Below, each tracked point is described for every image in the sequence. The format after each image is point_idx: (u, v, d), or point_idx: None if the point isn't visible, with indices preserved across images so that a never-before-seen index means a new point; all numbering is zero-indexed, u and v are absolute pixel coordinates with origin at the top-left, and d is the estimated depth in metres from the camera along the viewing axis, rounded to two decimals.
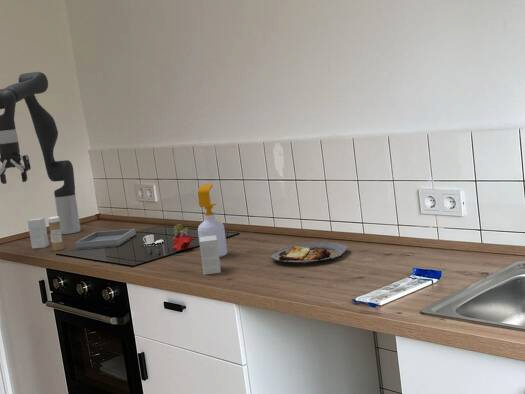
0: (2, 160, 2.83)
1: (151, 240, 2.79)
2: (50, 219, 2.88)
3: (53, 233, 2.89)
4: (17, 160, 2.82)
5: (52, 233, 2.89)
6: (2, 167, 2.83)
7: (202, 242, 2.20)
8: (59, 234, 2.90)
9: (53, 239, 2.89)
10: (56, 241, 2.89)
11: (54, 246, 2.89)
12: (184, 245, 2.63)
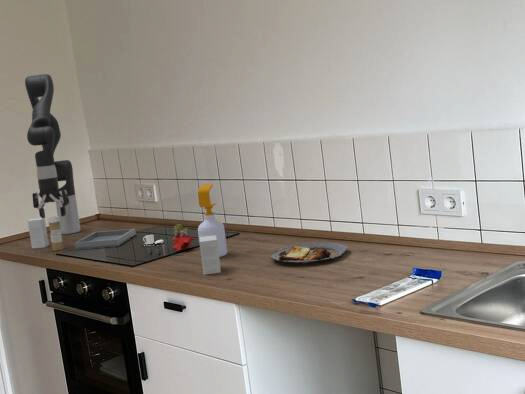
0: (41, 195, 2.88)
1: (151, 240, 2.79)
2: (50, 219, 2.88)
3: (53, 233, 2.89)
4: (56, 195, 2.87)
5: (52, 233, 2.89)
6: (41, 202, 2.88)
7: (202, 242, 2.20)
8: (59, 234, 2.90)
9: (53, 239, 2.89)
10: (56, 241, 2.89)
11: (54, 246, 2.89)
12: (184, 245, 2.63)
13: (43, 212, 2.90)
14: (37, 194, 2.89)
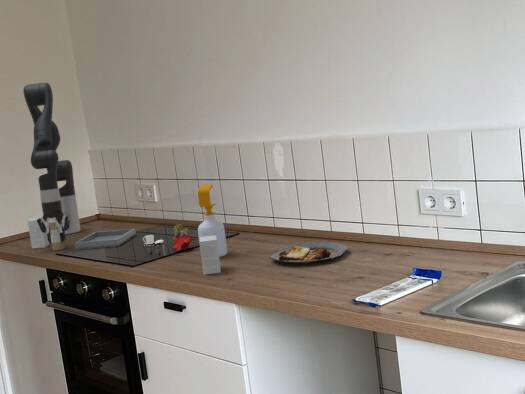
0: (45, 219, 2.89)
1: (151, 240, 2.79)
2: (50, 219, 2.88)
3: (53, 233, 2.89)
4: (59, 220, 2.88)
5: (52, 233, 2.89)
6: (47, 226, 2.89)
7: (202, 242, 2.20)
8: (59, 234, 2.90)
9: (53, 239, 2.89)
10: (56, 241, 2.89)
11: (54, 246, 2.89)
12: (184, 245, 2.63)
13: None
14: (41, 219, 2.90)
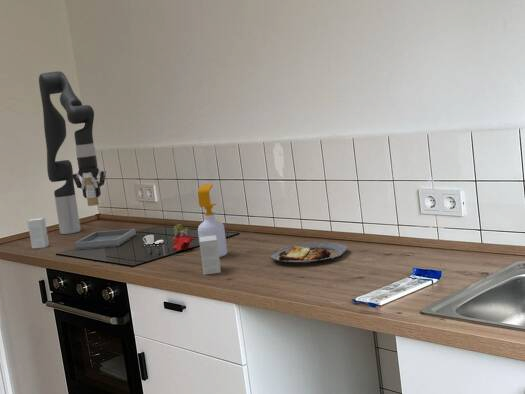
0: (81, 175, 2.90)
1: (151, 240, 2.79)
2: (85, 174, 2.89)
3: (88, 188, 2.89)
4: (95, 175, 2.89)
5: (87, 188, 2.90)
6: (83, 181, 2.90)
7: (202, 242, 2.20)
8: (94, 189, 2.90)
9: (88, 194, 2.90)
10: (91, 196, 2.90)
11: (89, 201, 2.90)
12: (184, 245, 2.63)
13: None
14: (77, 174, 2.91)
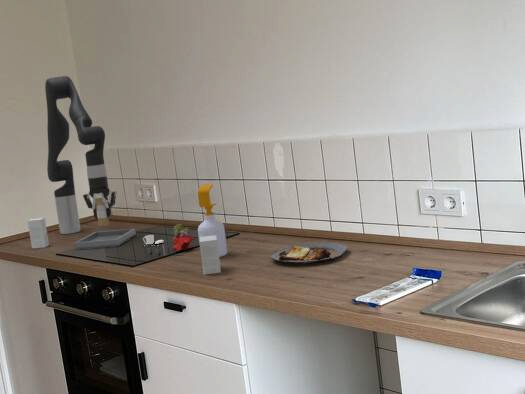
0: (91, 195, 2.92)
1: (151, 240, 2.79)
2: (97, 195, 2.91)
3: (99, 208, 2.91)
4: (106, 195, 2.91)
5: (98, 208, 2.92)
6: (94, 201, 2.92)
7: (202, 242, 2.20)
8: (105, 210, 2.92)
9: (99, 214, 2.92)
10: (102, 216, 2.92)
11: (100, 221, 2.92)
12: (184, 245, 2.63)
13: None
14: (87, 194, 2.93)
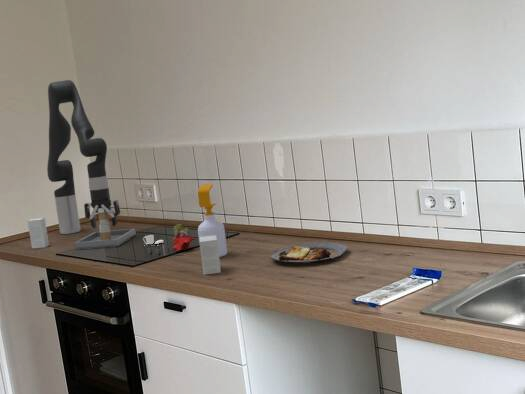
0: (93, 205, 2.93)
1: (151, 240, 2.79)
2: (99, 209, 2.92)
3: (102, 223, 2.93)
4: (108, 205, 2.92)
5: (101, 223, 2.93)
6: (93, 212, 2.93)
7: (202, 242, 2.20)
8: (107, 224, 2.94)
9: (102, 229, 2.93)
10: (105, 230, 2.93)
11: (102, 236, 2.93)
12: (184, 245, 2.63)
13: (94, 222, 2.95)
14: (89, 204, 2.94)
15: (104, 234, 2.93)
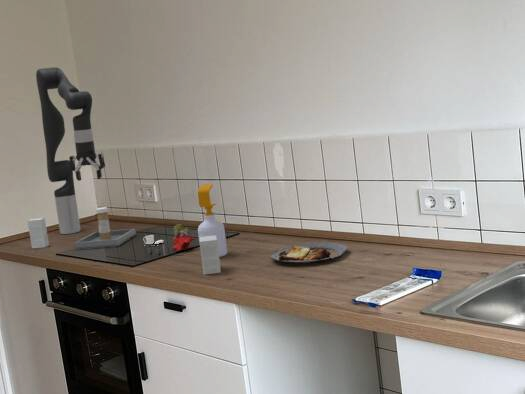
0: (78, 158, 2.97)
1: (151, 240, 2.79)
2: (98, 210, 2.92)
3: (101, 223, 2.93)
4: (93, 158, 2.96)
5: (100, 223, 2.93)
6: (78, 165, 2.96)
7: (202, 242, 2.20)
8: (107, 224, 2.94)
9: (101, 229, 2.93)
10: (104, 231, 2.93)
11: (102, 236, 2.93)
12: (184, 245, 2.63)
13: (79, 175, 2.99)
14: (74, 157, 2.97)
15: (104, 234, 2.93)
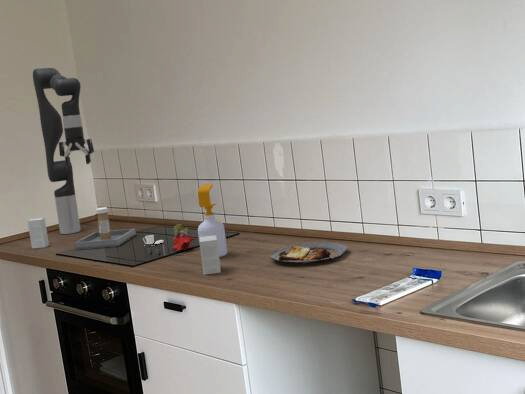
0: (67, 143, 3.02)
1: (151, 240, 2.79)
2: (99, 210, 2.92)
3: (101, 224, 2.92)
4: (81, 143, 3.01)
5: (100, 224, 2.93)
6: (67, 150, 3.02)
7: (202, 242, 2.20)
8: (107, 225, 2.93)
9: (101, 230, 2.93)
10: (104, 231, 2.93)
11: (102, 237, 2.93)
12: (184, 245, 2.63)
13: (69, 160, 3.04)
14: (63, 143, 3.03)
15: (104, 235, 2.93)
